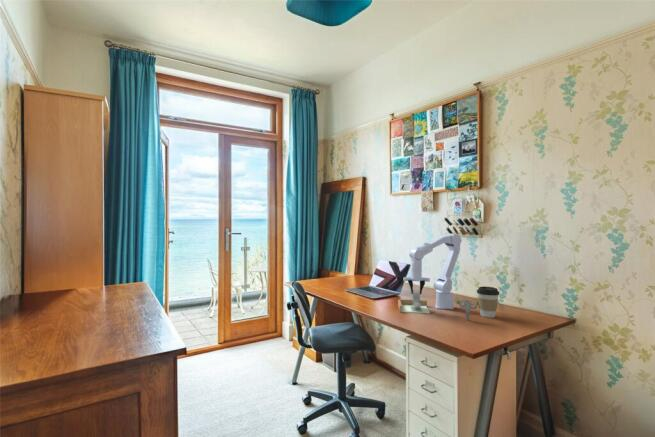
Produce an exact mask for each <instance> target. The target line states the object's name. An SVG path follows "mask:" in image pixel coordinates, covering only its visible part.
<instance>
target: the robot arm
mask: <svg viewBox="0 0 655 437" xmlns="http://www.w3.org/2000/svg"><path fill="white" fill-rule="evenodd" d="M462 241H463V240H462V238H461V236H460V235H459V234H458V233H449V232H446V233H444V234H441V236H439V237H438V238H436V239H434V240H433V241H432V242H423V244H422V245H420V246H417V247H416V248H412V249H411V250H410V253H409V257H410V261H411V263H410V265H411V266H410V267H411V272H410V274H411V275H410V276H404V277H403V282H407V283H408V284H409V288H410V292H411V295H412V294H413V290H414V282H419V291H420V295H422V292H423V289H424V287H425V285H426V282H429V283H430V281H431V278H430V277H422V276H423V273H422V272H423V271H422V270H423V268H422V267H423V264H422V263H423V262H422V261H423V259H424V258H425V256H427V255H428V254H430V253H432V252H433V249H435V248H436V247H438V246H440V245H442V244H444V245H445V246H446V247H447V248H448V250H449V252H448V254H447V257H446V260H445V263H444V266H443V268H442V271H441V274H440V275H438V276H437V277H436V280H435V281H434V282H433V288H434V290H435V292H436V293H435V294H436V295H435V304H434V307H435V309H439V310H454V294H453V292H451V291H452V290H453V283H454V282H453V280H452V278H451V277H452V274H453V272H454V270H455V266H456V263H457V261H458V258H459V255H460V252H461V244H462Z"/></svg>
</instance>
